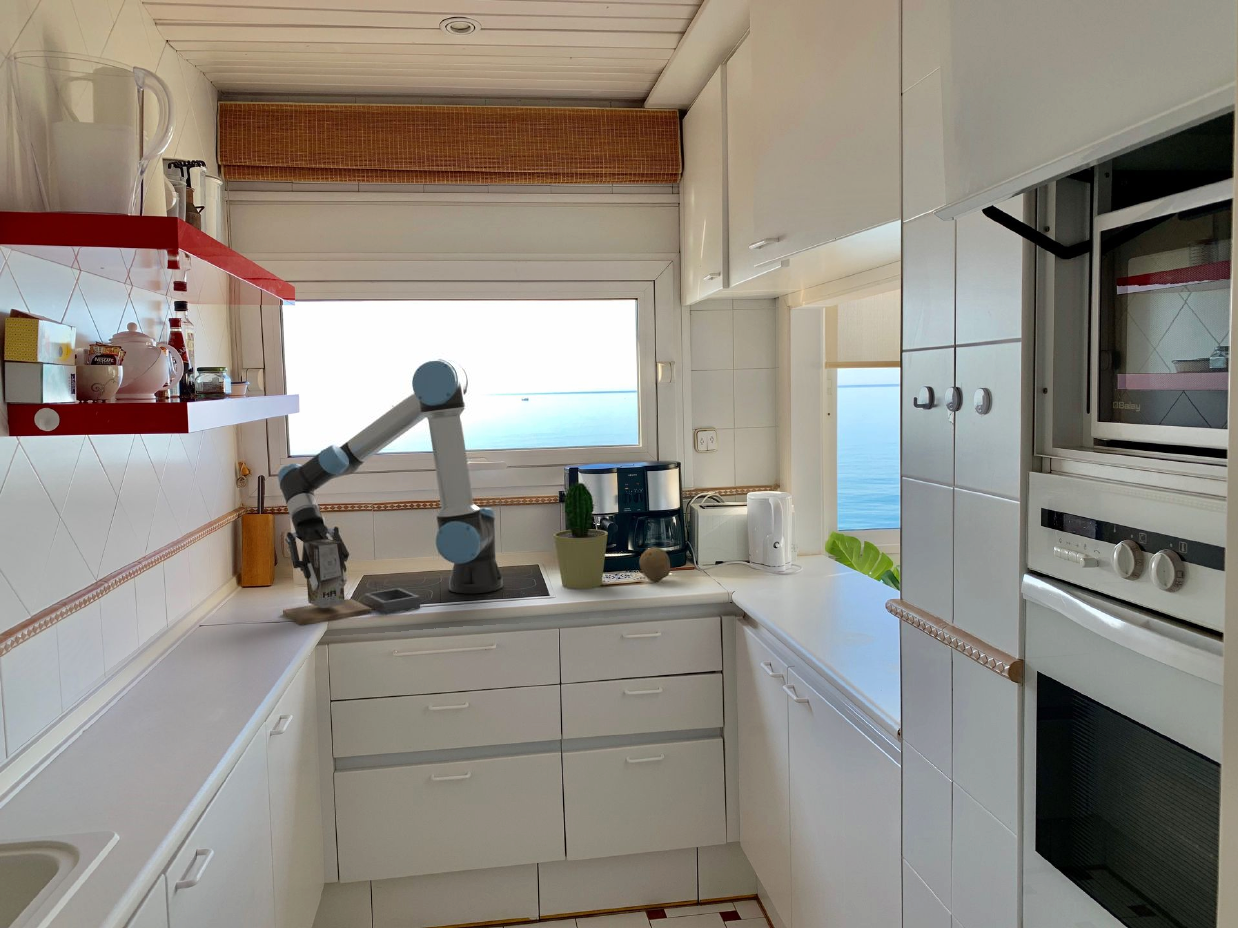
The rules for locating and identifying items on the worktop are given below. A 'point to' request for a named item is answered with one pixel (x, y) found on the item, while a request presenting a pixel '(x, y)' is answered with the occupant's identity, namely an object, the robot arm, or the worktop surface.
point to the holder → (391, 600)
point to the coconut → (655, 564)
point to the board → (325, 612)
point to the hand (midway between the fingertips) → (330, 584)
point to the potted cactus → (580, 542)
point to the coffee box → (326, 573)
